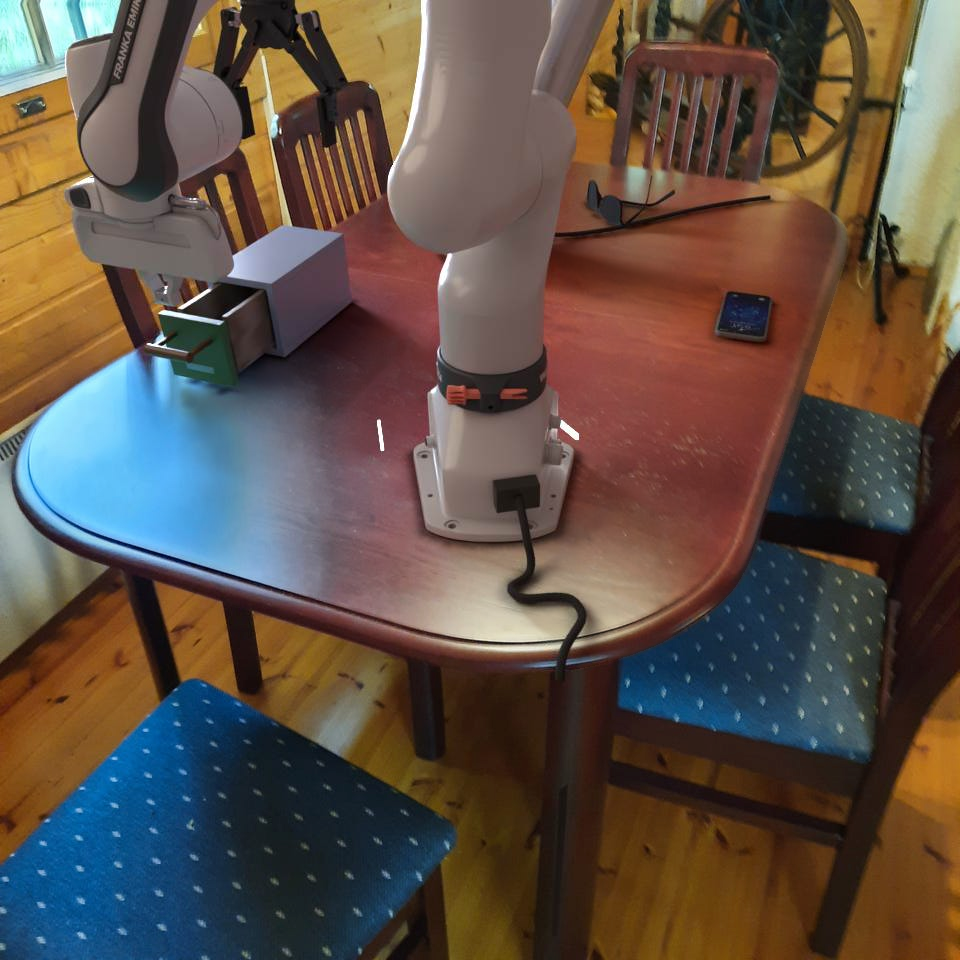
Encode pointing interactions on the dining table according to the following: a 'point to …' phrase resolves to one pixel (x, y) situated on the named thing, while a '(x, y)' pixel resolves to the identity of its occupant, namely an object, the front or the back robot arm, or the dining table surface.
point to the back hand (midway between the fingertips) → (288, 141)
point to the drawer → (216, 333)
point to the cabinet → (296, 280)
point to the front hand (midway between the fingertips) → (168, 303)
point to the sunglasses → (615, 204)
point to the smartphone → (744, 316)
